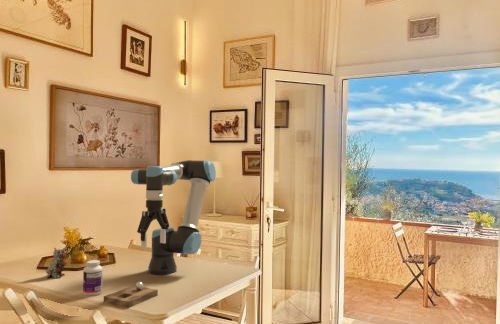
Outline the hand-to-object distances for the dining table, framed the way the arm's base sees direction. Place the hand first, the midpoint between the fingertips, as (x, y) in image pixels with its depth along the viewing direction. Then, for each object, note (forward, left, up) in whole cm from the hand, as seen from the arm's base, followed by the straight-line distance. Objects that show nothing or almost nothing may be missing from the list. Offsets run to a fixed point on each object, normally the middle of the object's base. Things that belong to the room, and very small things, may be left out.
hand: (153, 245), depth 192 cm
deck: (0, -14, -21) cm, 25 cm away
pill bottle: (-20, -17, -21) cm, 34 cm away
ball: (0, -9, -18) cm, 20 cm away
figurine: (-57, -7, -21) cm, 61 cm away
